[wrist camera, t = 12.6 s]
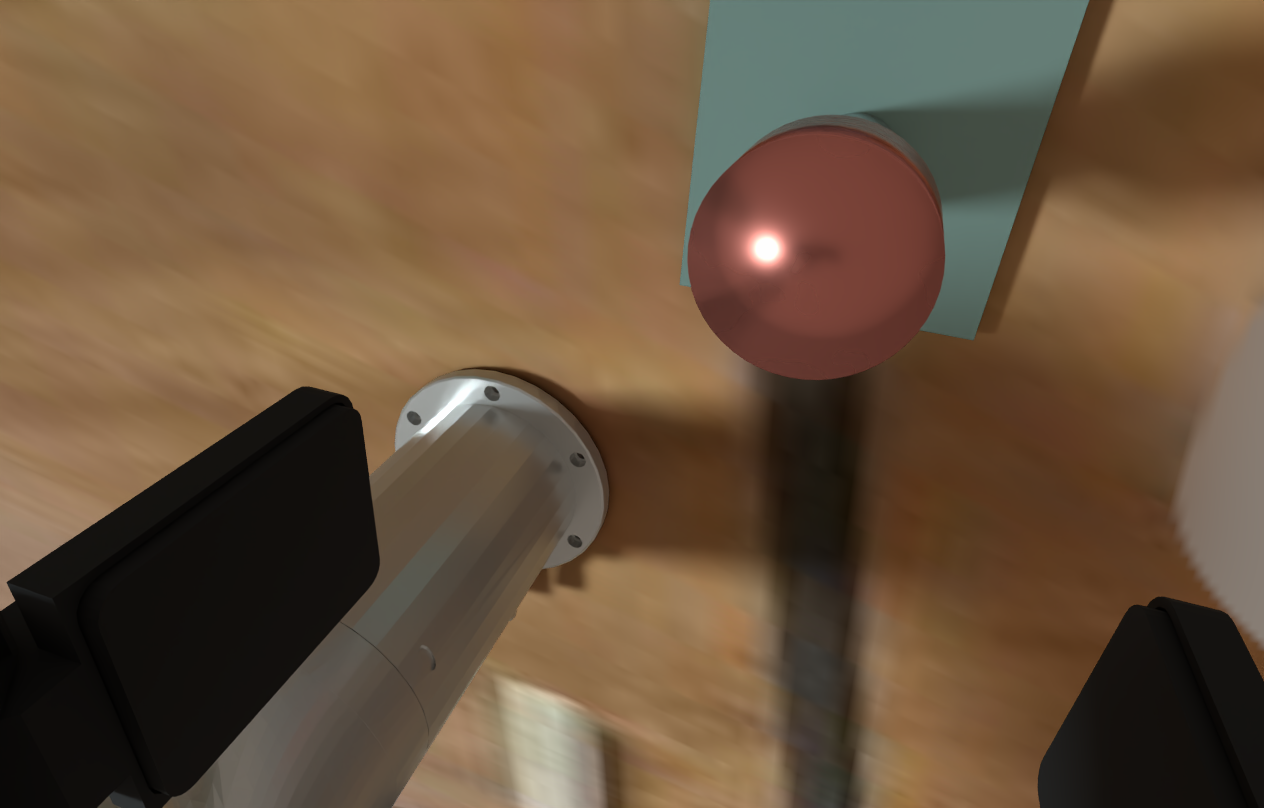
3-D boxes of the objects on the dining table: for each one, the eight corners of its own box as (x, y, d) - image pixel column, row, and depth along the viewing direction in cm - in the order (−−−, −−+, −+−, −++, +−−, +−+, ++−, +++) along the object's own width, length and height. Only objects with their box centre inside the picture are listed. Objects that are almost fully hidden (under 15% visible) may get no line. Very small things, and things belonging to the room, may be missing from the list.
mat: (972, 332, 30) (973, 340, 29) (684, 278, 33) (679, 284, 32) (1086, -8, 24) (1091, -7, 23) (719, -38, 27) (714, -38, 26)
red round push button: (960, 86, 25) (980, 155, 16) (914, 256, 29) (906, 402, 19) (784, 67, 27) (702, 118, 17) (758, 229, 30) (675, 353, 20)
